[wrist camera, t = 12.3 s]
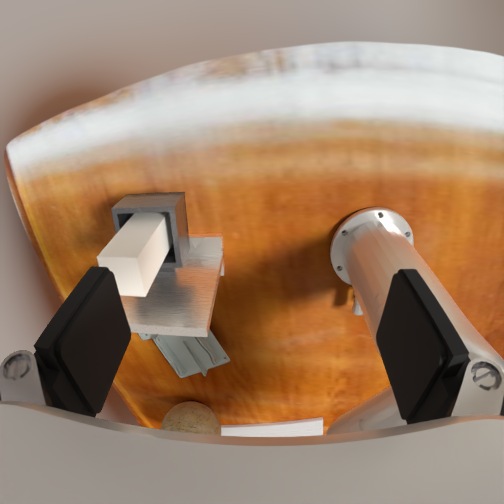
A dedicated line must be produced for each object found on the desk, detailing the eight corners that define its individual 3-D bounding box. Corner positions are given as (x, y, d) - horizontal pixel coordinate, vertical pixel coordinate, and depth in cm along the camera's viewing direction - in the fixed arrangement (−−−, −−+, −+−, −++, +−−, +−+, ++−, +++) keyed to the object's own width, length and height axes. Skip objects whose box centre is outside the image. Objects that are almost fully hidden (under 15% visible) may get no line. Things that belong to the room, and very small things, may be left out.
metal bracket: (241, 367, 48) (171, 390, 52) (247, 348, 53) (182, 372, 57) (192, 292, 46) (125, 325, 50) (204, 279, 51) (141, 312, 55)
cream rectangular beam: (174, 240, 36) (145, 296, 27) (143, 240, 37) (107, 294, 27) (170, 208, 35) (137, 257, 25) (138, 209, 35) (96, 257, 25)
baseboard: (322, 436, 71) (322, 414, 65) (323, 445, 68) (323, 424, 63) (207, 443, 74) (194, 422, 68) (206, 451, 71) (193, 432, 66)
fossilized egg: (200, 424, 68) (192, 477, 55) (157, 401, 63) (142, 457, 50) (236, 408, 63) (231, 468, 50) (190, 382, 59) (177, 445, 46)
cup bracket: (224, 271, 45) (209, 353, 31) (134, 269, 46) (92, 342, 32) (219, 178, 39) (194, 234, 25) (118, 183, 39) (54, 236, 25)
